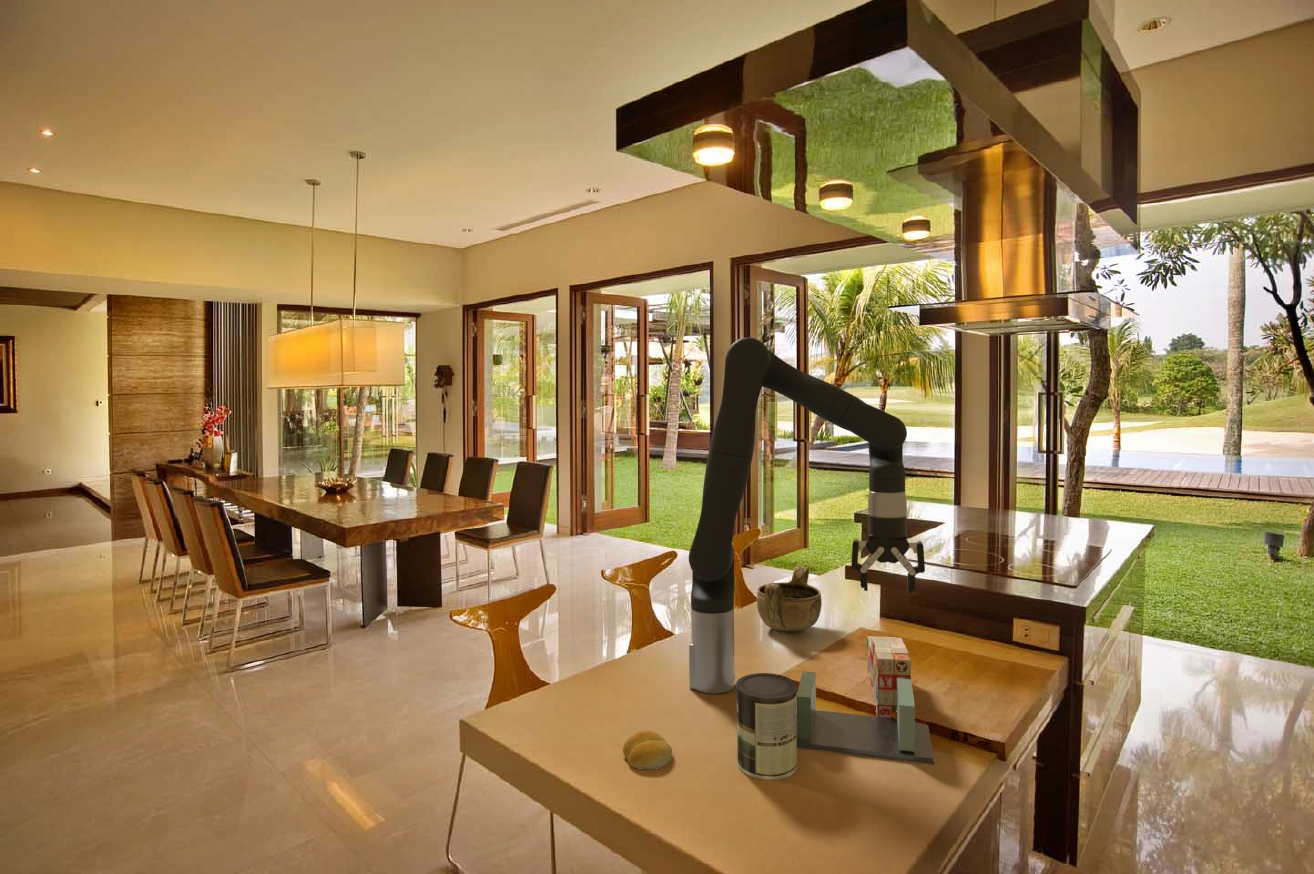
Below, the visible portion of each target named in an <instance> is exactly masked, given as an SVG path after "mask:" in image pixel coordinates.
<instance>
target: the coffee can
mask: <svg viewBox="0 0 1314 874" xmlns="http://www.w3.org/2000/svg"><path fill="white" fill-rule="evenodd" d="M735 689H736V730H737V731H736V732H737V733H736V735H737V738H736V739H737V741H736V742H737V751H736V752H737V753H736V755H737V756H736V758H737V759H736V763H737V765H736V766H737V767H738V770H740V771H741V773H743V774H744V775H746V776H748V777H750V778H753V779H757V780H761V781H780V780H783V779H787V778H789V777H791V776H792V775H793V774H795V773H796V771H797V769H798V761H797V759H798V758H797V756H798V755H797V752H798V748H797V693H798V684H797V683H796V682H795V681H794V680H793V679H792V678H790V677H789V676H785V675H782V674H778V673H777V674H776V673H771V672H756V673H750V674H747V675H744V676H742V677H740V678H739V679H737V681H736V682H735Z"/></svg>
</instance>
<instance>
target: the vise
mask: <svg viewBox="0 0 1314 874" xmlns="http://www.w3.org/2000/svg"><path fill="white" fill-rule="evenodd" d="M816 673H817V672H816V671H808V670H807V671H805V670H803V671H802V672H801V676H800V681H799V686H798V688H797V693H796V694H797V749H805V750H814V751H822V752H828V753H837V754H847V755H854V756H861V757H862V756H863V757H868V758H869V757H870V758H878V759H887V760H895V761H896V760H897V761H902V762H903V761H904V762H911V763H919V764H928V765H934V764H935V761H934V760H935V759H934V758H935V757H934V751H933V745H932V741H931V734H930V729H929V724H928V725H925V724H921V723H917V722H915V752H912V751H903V750H899V739H898V726H897V719H895V718H886V717H877V715H876V716H875V715H874V716H873V715H865V714H864V715H863V714H856V713H847V712H846V713H845V712H836V711H829V710H828V711H827V710H819V709H817V683H816V681H817V679H816V678H817V676H816V675H817V674H816Z"/></svg>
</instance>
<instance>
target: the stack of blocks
mask: <svg viewBox="0 0 1314 874" xmlns="http://www.w3.org/2000/svg"><path fill="white" fill-rule="evenodd" d="M866 650H867V674H868V673H869V678H868V680H869V679H870V682H871V686H872V687H873V693H874V697H875V702H876V710H875V714H876V717H886V718H893V717H892V716H891V715H890V714H889V712H891V711H892V712H896V711H897V678H901V679H911V680H912V659H911V656H910V654H909V650H908V649H907V646H906V644H905V643H904V641H903V639H902V637H895V636H875V635H874V636H872V635H871V636H869V635H866ZM887 712H888V713H887Z"/></svg>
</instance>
